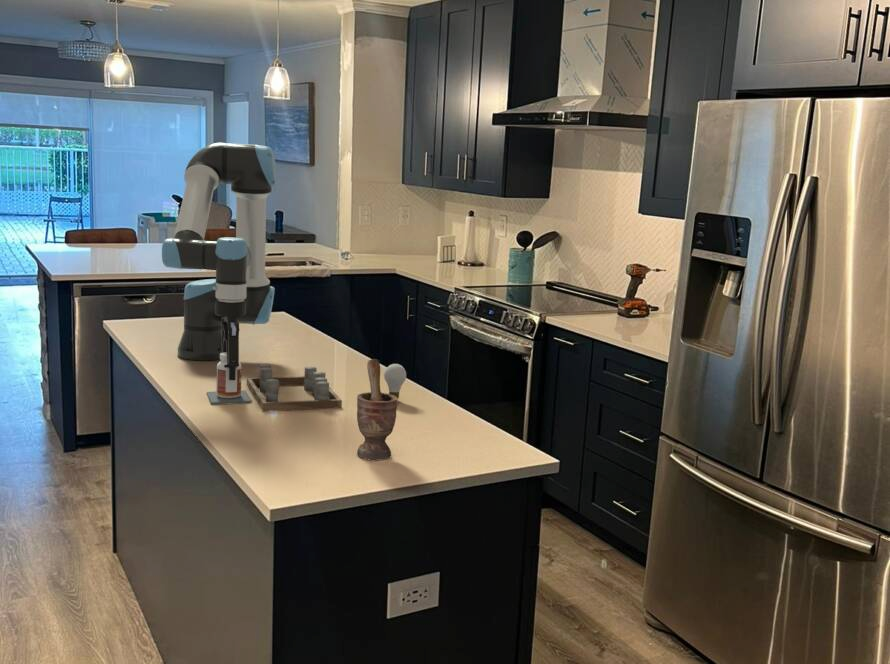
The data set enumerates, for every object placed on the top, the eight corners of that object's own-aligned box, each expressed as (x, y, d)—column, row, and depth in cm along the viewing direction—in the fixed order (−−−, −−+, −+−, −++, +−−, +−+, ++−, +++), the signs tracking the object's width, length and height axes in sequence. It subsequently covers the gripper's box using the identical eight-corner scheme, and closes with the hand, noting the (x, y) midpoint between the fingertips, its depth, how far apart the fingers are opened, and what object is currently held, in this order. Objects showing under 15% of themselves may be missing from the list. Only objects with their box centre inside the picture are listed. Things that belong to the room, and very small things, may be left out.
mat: (206, 393, 227) (206, 391, 227) (245, 392, 231) (245, 390, 231) (211, 404, 218) (211, 402, 218) (251, 403, 222) (251, 400, 222)
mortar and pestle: (340, 447, 193) (344, 359, 189) (374, 442, 198) (379, 356, 194) (366, 463, 184) (371, 371, 180) (401, 458, 189) (406, 368, 185)
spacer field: (246, 385, 239) (247, 363, 237) (318, 382, 246) (319, 362, 245) (262, 411, 216) (263, 387, 215) (341, 407, 223) (342, 385, 222)
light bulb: (408, 399, 235) (410, 363, 233) (399, 404, 229) (402, 367, 227) (387, 396, 237) (389, 360, 235) (379, 401, 231) (381, 364, 229)
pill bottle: (244, 397, 224) (245, 355, 222) (221, 400, 221) (221, 357, 219) (236, 391, 229) (236, 350, 227) (213, 394, 226) (213, 352, 224)
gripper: (210, 293, 228) (209, 378, 232) (220, 306, 209) (219, 398, 214) (239, 293, 230) (238, 377, 235) (252, 306, 212) (250, 397, 216)
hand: (229, 387), depth 224 cm, fingers open, 7 cm apart
